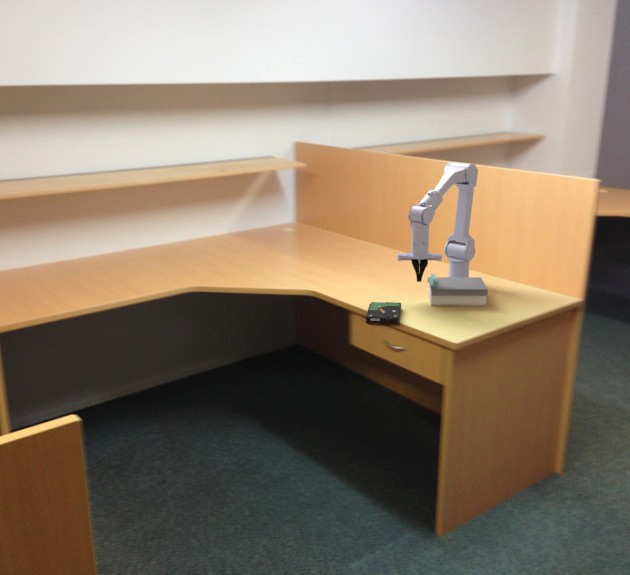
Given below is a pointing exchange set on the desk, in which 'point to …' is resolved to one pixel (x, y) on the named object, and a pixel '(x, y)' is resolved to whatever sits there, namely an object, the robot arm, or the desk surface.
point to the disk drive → (383, 313)
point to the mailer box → (456, 300)
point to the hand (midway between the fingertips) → (419, 280)
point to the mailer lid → (457, 286)
